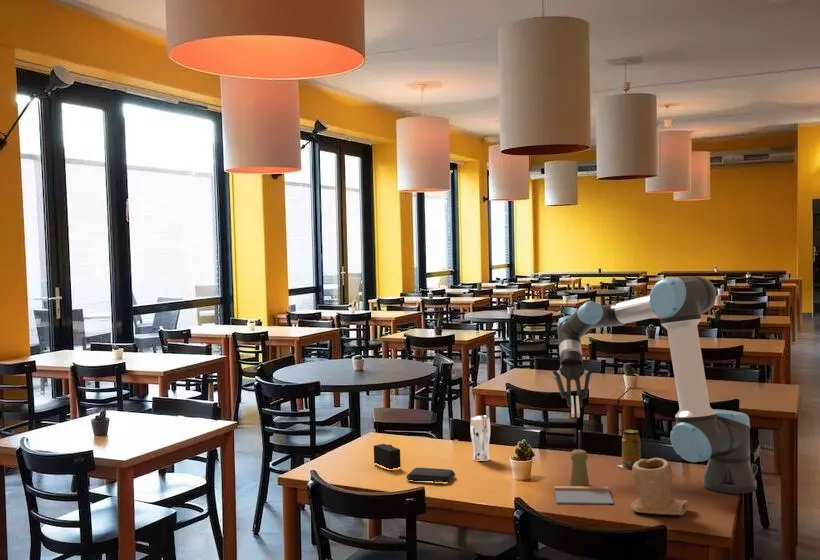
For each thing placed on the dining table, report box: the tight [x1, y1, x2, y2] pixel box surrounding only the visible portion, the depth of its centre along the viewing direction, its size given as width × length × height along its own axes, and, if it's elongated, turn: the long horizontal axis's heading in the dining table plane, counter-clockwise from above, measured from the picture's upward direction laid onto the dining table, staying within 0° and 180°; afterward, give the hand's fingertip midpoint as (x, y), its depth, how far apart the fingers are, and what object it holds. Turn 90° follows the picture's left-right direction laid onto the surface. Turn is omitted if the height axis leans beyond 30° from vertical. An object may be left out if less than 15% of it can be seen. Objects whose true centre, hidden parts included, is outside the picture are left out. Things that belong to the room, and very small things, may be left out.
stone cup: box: [630, 457, 690, 516], centre depth 218 cm, size 15×12×15 cm
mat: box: [553, 485, 614, 505], centre depth 234 cm, size 13×16×1 cm
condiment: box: [617, 429, 642, 470], centre depth 264 cm, size 7×8×12 cm
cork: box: [569, 449, 590, 486], centre depth 245 cm, size 6×6×11 cm
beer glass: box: [470, 415, 491, 461], centre depth 278 cm, size 7×7×15 cm
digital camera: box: [373, 443, 402, 469], centre depth 273 cm, size 10×5×7 cm, turn 35°
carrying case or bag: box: [405, 467, 456, 483], centre depth 256 cm, size 11×3×15 cm
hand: (575, 415), depth 254 cm, fingers closed
